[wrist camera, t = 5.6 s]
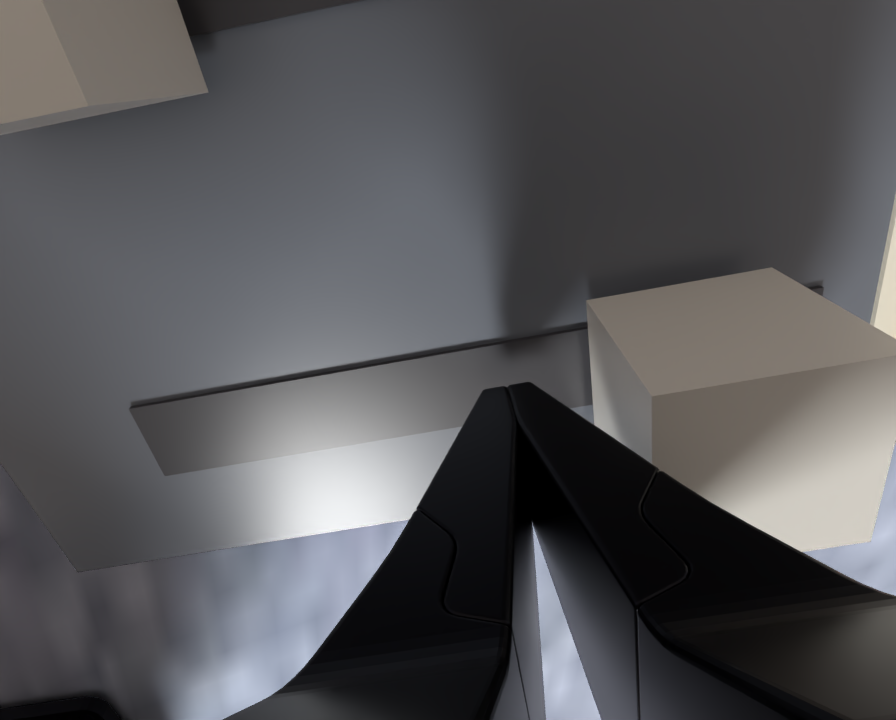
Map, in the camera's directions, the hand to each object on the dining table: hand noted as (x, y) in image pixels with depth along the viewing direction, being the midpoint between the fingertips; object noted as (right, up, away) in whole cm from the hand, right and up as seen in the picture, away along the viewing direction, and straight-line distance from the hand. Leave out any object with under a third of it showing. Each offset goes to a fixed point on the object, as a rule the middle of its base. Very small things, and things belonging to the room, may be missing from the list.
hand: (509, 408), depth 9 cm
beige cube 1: (+3, +1, 0) cm, 3 cm away
